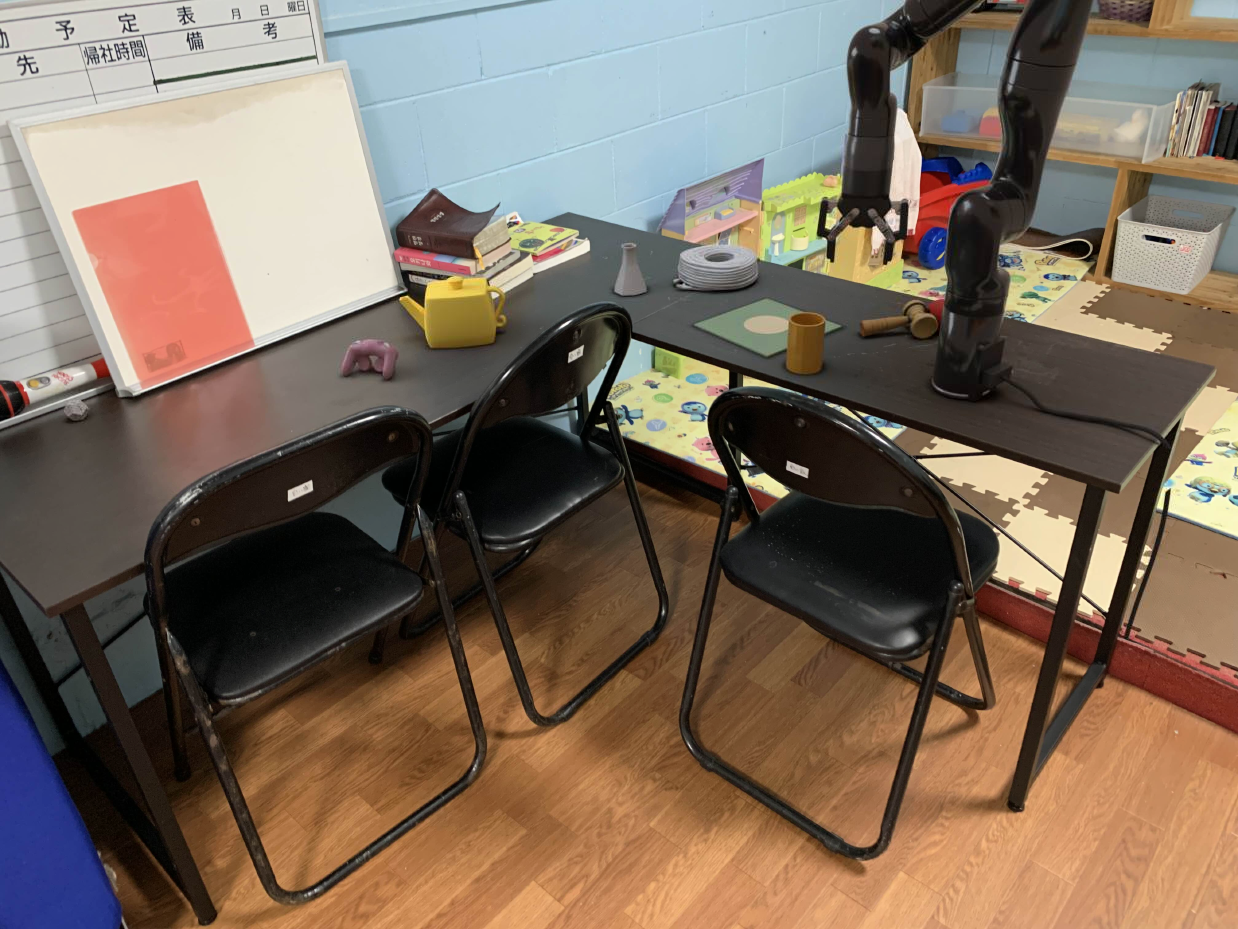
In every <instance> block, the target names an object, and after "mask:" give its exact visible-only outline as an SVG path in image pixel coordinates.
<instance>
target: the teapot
mask: <svg viewBox="0 0 1238 929" xmlns="http://www.w3.org/2000/svg"><path fill="white" fill-rule="evenodd" d="M492 293H495V294H498V295H499V303H498V305H497V308H496V307H495V303H494V299H493V295H492ZM424 295H425V296H424V307H423V306H422V305H420V304H419V303H417V302H416V301H415V300H414V299H412V298H411V297H410V296H409V295H405V296H402V297H399V299H398V302H399V303H400V304H401V305H402V306H403V307H404V308H405V310H406V311H407V312H408V313H409V314H410V315H411V317H412V318H413V319H414V320H415V321H416V322H417V324H418V325H419V326H420V327H421V328H422V329H423V330H424V333H425V334H424V335H425V338H426V342H427V343H428V346H429V347H430V349H456V348H457V349H458V348H467V347H468V348H469V347H476V346H477V347H478V346H486V345H490V344H493V343H494V342H495V339H496V334H497V333H496V332H497V328H502V327H504V326H505V325H506V323H507V317H506V316H505V314H504V315H503V314H501V312H502V310H503V308H504V306H505V303H506V295H505V292H504V291H503V290H502V289H501V288H500V287H499V286H495V285H489V282H488V281H487V278H485V277H467V278H466V277H465V278H463V277H462V276H460V275H459V276H458V275H455V276H450V277H448V278H447V279H441V280H435V281H429V282H428V283H427V286H426V289H425V294H424ZM495 308H496V309H495ZM499 319H501V321H498V320H499Z"/></svg>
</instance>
